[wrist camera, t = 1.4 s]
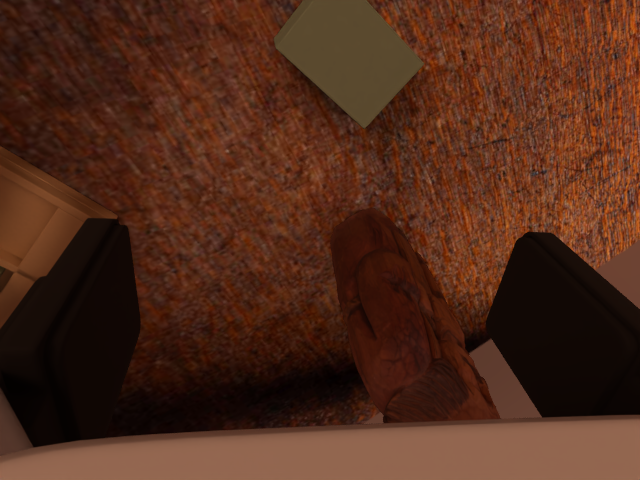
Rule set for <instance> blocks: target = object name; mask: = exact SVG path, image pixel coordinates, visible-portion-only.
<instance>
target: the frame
mask: <svg viewBox="0 0 640 480" xmlns="http://www.w3.org/2000/svg"><path fill="white" fill-rule="evenodd" d="M87 218H111V219H117V218H118V215H116V214H114V213H113V212H111V211H109V210H108V209H106V208H104V207H103V206H101V205H99V204H98V203H96V202H94V201H92V200H91V199H89V198H87V197H86V196H84V195H82V194H81V193H79V192H77V191H76V190H74V189H72V188H71V187H69V186H67V185H65V184H64V183H62V182H60V181H59V180H57V179H55V178H54V177H52V176H50V175H49V174H47V173H45V172H44V171H42V170H40V169H38V168H37V167H35V166H33V165H32V164H30V163H28V162H27V161H25V160H23V159H22V158H20V157H18V156H17V155H15V154H13V153H11V152H10V151H8V150H6V149H5V148H3V147H1V146H0V329H1V327H2V326H3V325H4V323H5V322H6V321H7V319H8V318H9V316H10V315H11V314H12V312H13V311H14V310H15V308H16V307H17V306H18V304H19V303H20V301H21V300H22V299H23V297H24V296H25V295H26V293H27V292H28V290H29V289H30V288H31V286H32V285H33V284H34V282H35V281H36V280H37V279H38V278H39V277H42V276H46V275H47V274H48V273H49V271H50V270H51V268H52V267H53V266H54V264H55V263H56V261H57V260H58V259H59V257H60V256H61V254H62V253H63V251H64V250H65V249H66V247H67V246H68V244H69V243H70V242H71V240H72V239H73V237H74V236H75V235H76V233H77V232H78V230H79V229H80V227H81V226H82V225H83V223H84V222H85V220H86V219H87Z"/></svg>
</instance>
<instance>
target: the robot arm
mask: <svg viewBox="0 0 640 480" xmlns="http://www.w3.org/2000/svg"><path fill="white" fill-rule="evenodd" d="M140 323H141V322H140V313H139V305H138V298H137V290H136V283H135V275H134V268H133V260H132V253H131V245H130V238H129V231H128V228H127V226H126V225H119V222H118V220H117V219H111V218H87V219H86V220H85V222H84V223H83V225H82V226H81V227H80V229H79V230H78V232H77V233H76V235H75V236H74V237H73V239H72V240H71V242H70V243H69V244H68V246H67V247H66V249H65V250H64V251H63V253H62V254H61V256H60V257H59V259H58V260H57V261H56V263H55V264H54V266H53V267H52V268H51V270H50V271H49V273H48V274H47V275H46V276H42V277H39V278H38V279H37V280H36V281H35V282H34V284H33V285H32V286H31V288H30V289H29V290H28V292H27V293H26V295H25V296H24V297H23V299H22V300H21V301H20V303H19V304H18V306H17V307H16V308H15V310H14V311H13V312H12V314H11V315H10V316H9V318H8V319H7V321H6V322H5V323H4V325H3V326H2V327H1V329H0V480H640V309H639V308H638V307H636V306H635V305H634V304H633V303H632V302H631V301H629V300H628V299H627V298H626V297H625V296H624V295H622V293H620V292H619V291H618V290H617V289H616V288H615V287H614V286H612V285H611V284H610V283H609V282H608V281H607V280H606V279H604V278H603V277H602V276H601V275H600V274H599V273H597V272H596V271H595V270H594V269H593V268H592V267H591V266H589V265H588V264H587V263H586V262H585V261H584V260H583V259H581V258H580V257H579V256H578V255H577V254H576V253H575V252H573V251H572V250H571V249H570V248H569V247H568V246H567V245H565V244H564V243H563V242H562V241H561V240H560V239H559V238H557V237H556V236H555V235H554V234H552V233H544V232H527V233H525V234H524V235H523V236H522V237H521V238H519V239H518V240H517V241H516V243H515V245H514V248H513V251H512V253H511V256H510V259H509V261H508V264H507V267H506V269H505V272H504V275H503V277H502V280H501V283H500V285H499V288H498V290H497V293H496V296H495V298H494V301H493V304H492V306H491V309H490V312H489V314H488V317H487V320H486V328H487V332H488V334H489V335H490V337H491V338H492V340H493V342H494V343H495V345H496V346H497V348H498V349H499V351H500V352H501V354H502V355H503V357H504V358H505V360H506V362H507V363H508V365H509V366H510V368H511V369H512V371H513V373H514V374H515V376H516V377H517V379H518V380H519V382H520V384H521V385H522V387H523V388H524V390H525V391H526V393H527V394H528V396H529V398H530V399H531V401H532V402H533V404H534V405H535V407H536V408H537V410H538V411H539V413H540V415H541V416H542V418H513V419H486V420H459V421H433V422H407V423H382V424H357V425H334V426H312V427H289V428H266V429H244V430H221V431H204V432H186V433H169V434H153V435H137V436H123V437H112V438H105V436H106V433H107V430H108V427H109V424H110V421H111V418H112V415H113V412H114V409H115V406H116V403H117V400H118V397H119V394H120V391H121V388H122V385H123V382H124V379H125V376H126V373H127V370H128V367H129V364H130V361H131V358H132V355H133V352H134V349H135V346H136V343H137V340H138V337H139V333H140Z"/></svg>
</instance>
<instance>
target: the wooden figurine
mask: <svg viewBox="0 0 640 480" xmlns="http://www.w3.org/2000/svg"><path fill="white" fill-rule="evenodd" d="M330 244H331V251H332V259H333V267H334V272H335V277H336V282H337V292H338V299H339V303H340V307H341V309H342V311H343V320H344V321H345V323H346V326H347V330H348V340H349V343H350V347H351V351H352V354H353V357H354V360H355V363H356V366H357V369H358V372H359V374H360V376H361V378H362V380H363V382H364V385H365V387H366V389H367V391H368V393H369V394H370V396H371V398H372V400H373V402H374V404H375V405H376V406H377V408H378V409H379V410H380V412H381V413H382V414H383V415H384V417H383V422H384V423H407V422H433V421H459V420H486V419H500V416H499V414H498V412H497V410H496V406H495V405H494V403H493V401H492V398H491V396H490V394H489V391H488V386H487V383H486V381H485V379H484V378H483V377H481V376H480V375H479V373H478V371H477V369H476V368H475V365H474V361H473V360H472V358H471V357H470V356H469V353H468V352H467V351H466V349H465V344H464V334H463V332H462V330H461V328H460V326H459V324H458V322H457V320H456V318H455V316H453V314H452V313H451V311H450V309H449V307H448V305H447V302H446V300H445V298H444V296H443V294H442V292H441V291H440V289H439V287H438V285H437V283H436V282H435V280H434V278H433V276H432V274H431V273H430V271H429V269H428V267H427V265H426V263H425V262H424V260H423V258H422V257H421V255H420V254H418V253H416V252H414V251H413V249H412V247H411V245H410V244H409V243H408V240H407V238H406V236H405V235H404V234H403V233H402V231H401V230H399V229H398V228H397V227H396V225H395V224H394V223H393V222H392V221H391V220H390V219H389V218H388V217H387V216H385V215H384V214H382V213H381V212H379V211H377V210H376V209H375V208H369V209H367V210H361V211H359V212H357V213H356V214H354V215H352V216H350V217H348V218H347V219H346V220H345V221H344V222H342V223H341V224H339V225H337V226H336V227H335V228H334V231H333V234H332V236H331V242H330Z"/></svg>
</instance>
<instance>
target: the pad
mask: <svg viewBox="0 0 640 480" xmlns="http://www.w3.org/2000/svg"><path fill="white" fill-rule="evenodd" d="M274 42H275V46H276V49H277V50H278V51H279V52H280V53H281V54H283V55H284V56H285V57H286V58H287V59H288V60H289V61H290V62H291V63H292V64H293V65H295V66H296V67H297V68H298V69H299V70H300V71H301V72H302V73H303V74H304V75H305V76H307V77H308V78H309V79H310V80H311V81H312V82H313V83H314V84H315V85H316V86H317V87H319V88H320V89H321V90H322V91H323V92H324V93H325V94H326V95H327V96H328V97H330V98H331V99H332V100H333V101H334V102H335V103H336V104H337V105H338V106H339V107H340V108H342V109H343V110H344V111H345V112H346V113H347V114H348V115H349V116H350V117H351V118H352V119H354V120H355V121H356V122H357V123H358V124H359V125H360V126H361V127H362V128H363V129H365V128H366V127H367V126H368V125H369V124H370V123H371V121H372V120H373V119H374V118H375V117H376V116H377V115H378V114H379V113H380V112H381V111H382V110H383V108H384V107H385V106H386V105H387V104H388V103H389V102H390V101H391V100H392V99H393V98H394V97H395V95H396V94H397V93H398V92H399V91H400V90H401V89H402V88H403V87H404V86H405V85H406V83H407V82H408V81H409V80H410V79H411V78H412V77H413V76H414V75H415V74H416V73H417V72H418V70H419V69H420V68H421V67H422V66H423V65H424V63H423V62H422V61H421V60H420V58H419V57H418V56H417V55H416V54H415V53H414V52H413V51H412V50H411V49H410V48H409V46H408V45H407V44H406V43H405V42H404V41H403V40H402V39H401V38H400V37H399V35H398V34H397V33H396V32H395V31H394V30H393V29H392V28H391V27H390V26H389V24H388V23H387V22H386V21H385V20H384V19H383V18H382V17H381V16H380V15H379V14H378V12H377V11H376V10H375V9H374V8H373V7H372V6H371V5H370V4H369V3H368V1H367V0H303V1H302V3H301V4H300V5H299V7H298V8H297V9H296V10H295V12H294V13H293V14H292V16H291V17H290V18H289V20H288V21H287V22H286V23H285V25H284V26H283V27H282V29H281V30H280V31H279V32H278V34H277V35H276V36H275V38H274Z"/></svg>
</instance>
